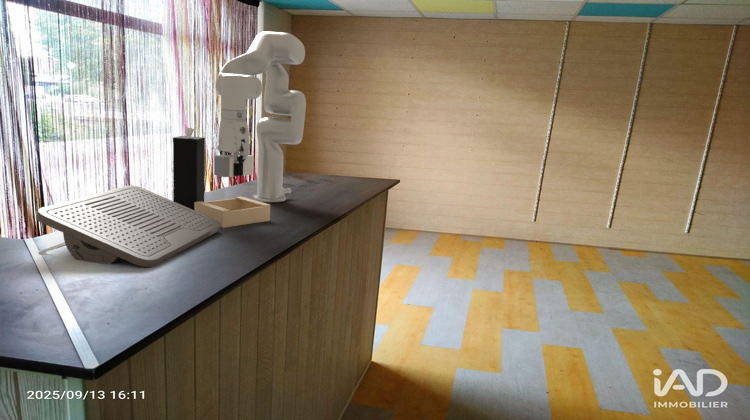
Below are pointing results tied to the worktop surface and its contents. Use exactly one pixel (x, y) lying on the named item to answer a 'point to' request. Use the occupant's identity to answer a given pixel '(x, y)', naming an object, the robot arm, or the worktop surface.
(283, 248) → the worktop surface
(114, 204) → the foot rest
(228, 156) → the capped box
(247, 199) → the carton
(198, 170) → the tissue box
